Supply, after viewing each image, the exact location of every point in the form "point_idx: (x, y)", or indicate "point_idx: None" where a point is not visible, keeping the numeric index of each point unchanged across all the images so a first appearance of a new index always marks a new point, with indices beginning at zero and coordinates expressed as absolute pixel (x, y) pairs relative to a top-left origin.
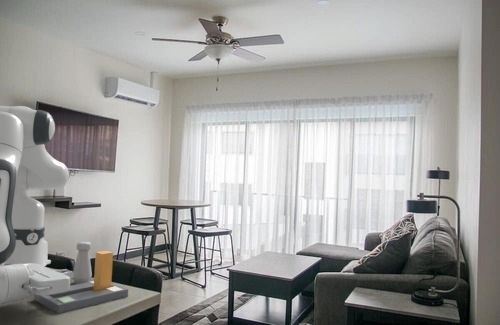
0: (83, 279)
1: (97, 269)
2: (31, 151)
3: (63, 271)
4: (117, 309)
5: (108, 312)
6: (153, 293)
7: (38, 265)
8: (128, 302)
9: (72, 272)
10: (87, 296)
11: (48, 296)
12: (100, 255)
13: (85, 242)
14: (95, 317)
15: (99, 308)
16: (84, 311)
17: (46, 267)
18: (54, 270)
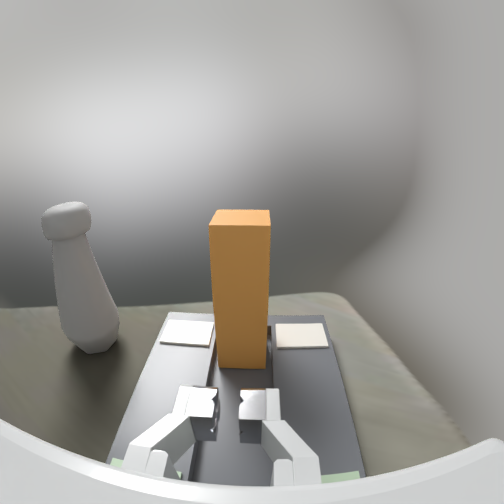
0: (111, 334)
1: (236, 298)
2: None
3: (213, 419)
4: (421, 386)
5: (436, 410)
6: (333, 294)
7: (11, 448)
8: (374, 350)
9: (279, 394)
10: (326, 421)
11: None
12: (255, 234)
13: (70, 204)
14: (464, 446)
15: (390, 421)
16: (397, 465)
17: (95, 465)
18: (164, 452)
